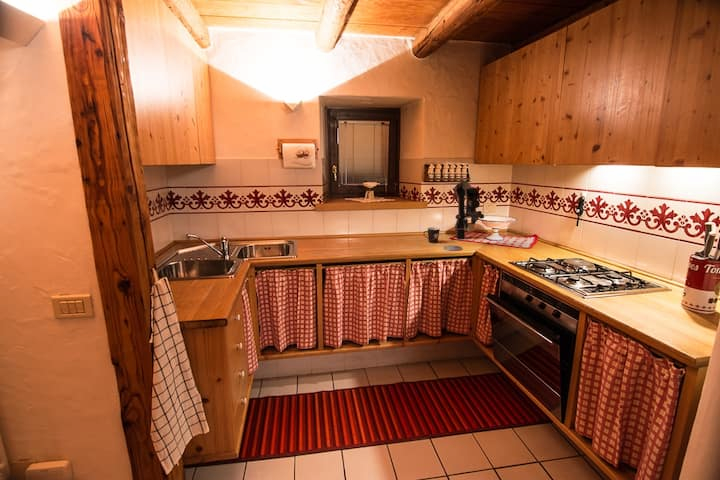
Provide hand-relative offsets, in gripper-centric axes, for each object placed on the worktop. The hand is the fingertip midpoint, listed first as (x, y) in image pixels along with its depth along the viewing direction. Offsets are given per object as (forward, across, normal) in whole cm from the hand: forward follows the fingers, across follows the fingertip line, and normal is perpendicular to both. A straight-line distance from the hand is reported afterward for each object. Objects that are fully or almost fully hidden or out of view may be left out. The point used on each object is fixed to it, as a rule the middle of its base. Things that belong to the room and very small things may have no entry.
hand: (469, 228), depth 245 cm
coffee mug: (+11, -22, +14) cm, 28 cm away
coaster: (+11, -15, -6) cm, 20 cm away
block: (+1, 0, 0) cm, 1 cm away
